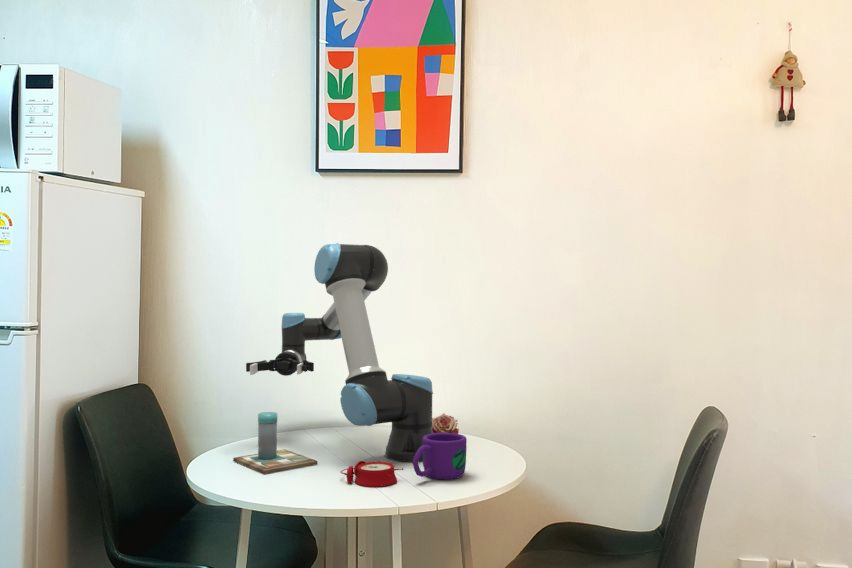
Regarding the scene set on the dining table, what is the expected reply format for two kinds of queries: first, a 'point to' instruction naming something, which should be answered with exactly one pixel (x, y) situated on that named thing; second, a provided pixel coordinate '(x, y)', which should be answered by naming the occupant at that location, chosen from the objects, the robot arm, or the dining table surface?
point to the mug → (442, 456)
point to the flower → (444, 424)
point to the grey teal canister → (267, 435)
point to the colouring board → (276, 462)
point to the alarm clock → (372, 474)
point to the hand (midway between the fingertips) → (274, 369)
